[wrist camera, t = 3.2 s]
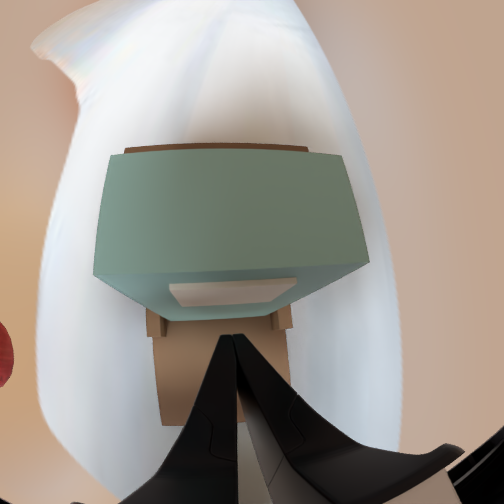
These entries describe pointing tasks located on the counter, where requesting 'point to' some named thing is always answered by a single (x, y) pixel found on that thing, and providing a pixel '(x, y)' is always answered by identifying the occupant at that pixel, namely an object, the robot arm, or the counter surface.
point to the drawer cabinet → (208, 331)
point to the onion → (5, 355)
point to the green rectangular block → (226, 230)
